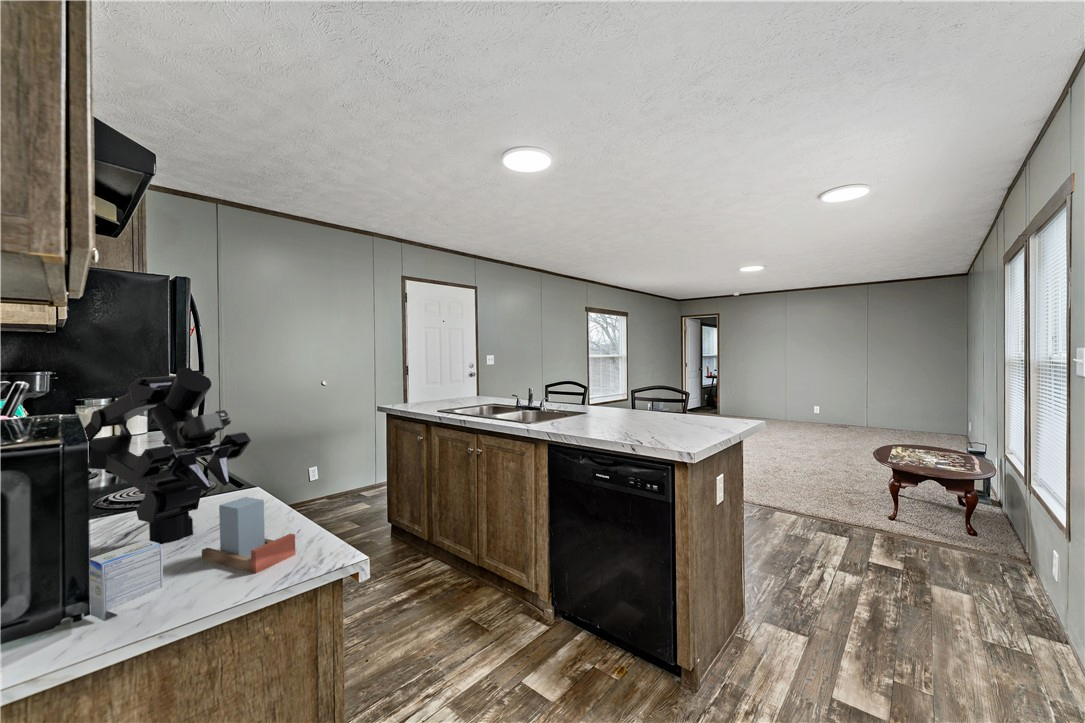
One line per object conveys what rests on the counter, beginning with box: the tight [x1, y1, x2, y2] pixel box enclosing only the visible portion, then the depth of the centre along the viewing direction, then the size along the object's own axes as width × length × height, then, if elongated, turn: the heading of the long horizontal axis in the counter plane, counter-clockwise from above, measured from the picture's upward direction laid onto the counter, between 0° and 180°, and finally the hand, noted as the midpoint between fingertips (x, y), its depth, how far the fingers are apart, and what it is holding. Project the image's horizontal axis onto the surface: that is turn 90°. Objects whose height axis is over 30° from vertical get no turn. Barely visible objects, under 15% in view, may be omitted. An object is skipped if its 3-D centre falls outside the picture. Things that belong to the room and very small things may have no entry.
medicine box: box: [89, 539, 164, 621], centre depth 73 cm, size 8×4×9 cm, turn 157°
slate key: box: [218, 496, 266, 558], centre depth 87 cm, size 5×5×10 cm
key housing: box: [201, 533, 296, 574], centre depth 87 cm, size 15×9×5 cm, turn 68°
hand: (217, 487), depth 89 cm, fingers open, 3 cm apart
